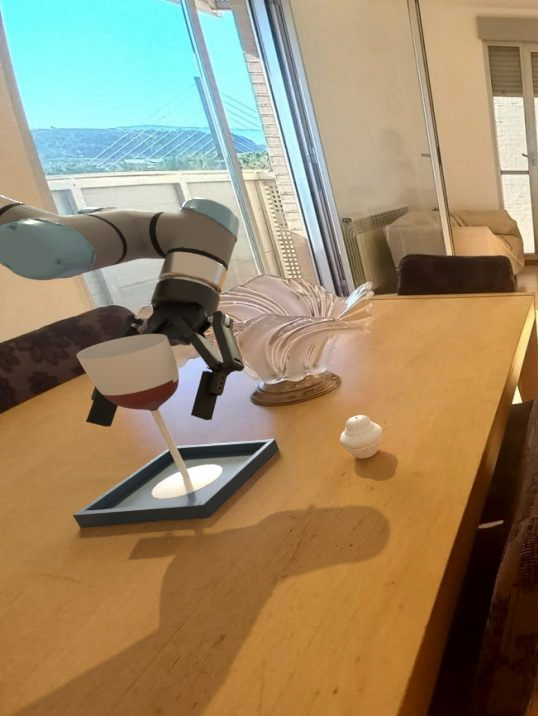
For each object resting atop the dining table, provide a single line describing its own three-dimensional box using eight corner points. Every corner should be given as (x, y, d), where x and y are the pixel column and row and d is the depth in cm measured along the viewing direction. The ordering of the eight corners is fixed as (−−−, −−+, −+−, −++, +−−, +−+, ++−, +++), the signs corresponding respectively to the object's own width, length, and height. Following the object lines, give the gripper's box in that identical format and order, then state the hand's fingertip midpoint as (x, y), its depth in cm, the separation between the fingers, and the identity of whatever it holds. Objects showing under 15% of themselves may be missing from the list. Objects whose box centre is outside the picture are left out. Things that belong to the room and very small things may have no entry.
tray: (79, 527, 64) (72, 515, 63) (175, 457, 79) (170, 446, 78) (209, 517, 65) (203, 505, 64) (279, 449, 80) (275, 438, 79)
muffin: (336, 460, 76) (324, 422, 74) (367, 440, 82) (357, 404, 79) (366, 467, 74) (354, 429, 72) (395, 446, 80) (385, 410, 77)
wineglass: (220, 456, 78) (165, 329, 69) (228, 480, 71) (169, 344, 63) (148, 480, 72) (78, 346, 63) (150, 509, 66) (73, 364, 57)
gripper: (287, 297, 78) (261, 421, 70) (128, 305, 77) (82, 433, 69) (256, 272, 71) (223, 407, 63) (80, 280, 70) (24, 419, 62)
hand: (150, 421), depth 66 cm, fingers open, 13 cm apart
